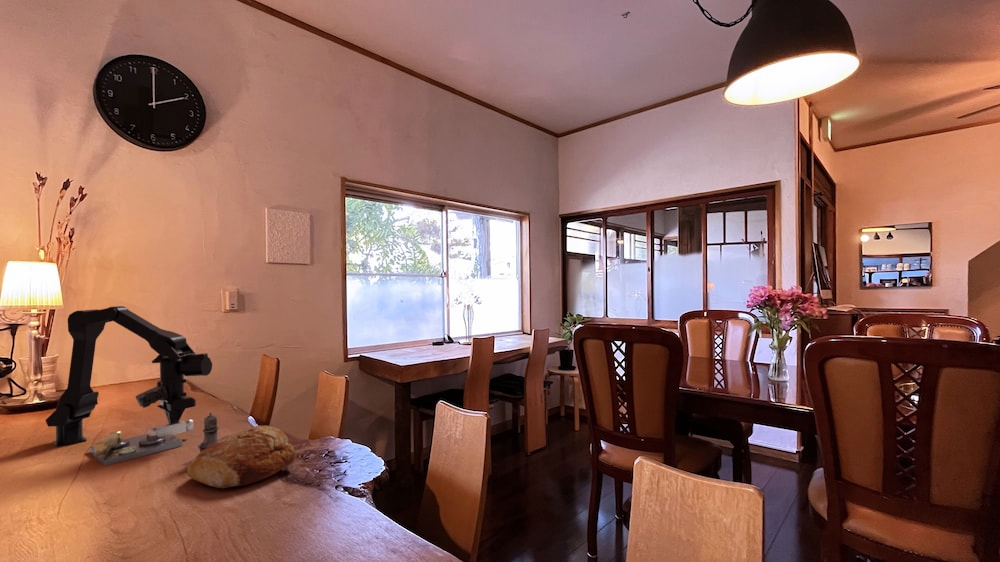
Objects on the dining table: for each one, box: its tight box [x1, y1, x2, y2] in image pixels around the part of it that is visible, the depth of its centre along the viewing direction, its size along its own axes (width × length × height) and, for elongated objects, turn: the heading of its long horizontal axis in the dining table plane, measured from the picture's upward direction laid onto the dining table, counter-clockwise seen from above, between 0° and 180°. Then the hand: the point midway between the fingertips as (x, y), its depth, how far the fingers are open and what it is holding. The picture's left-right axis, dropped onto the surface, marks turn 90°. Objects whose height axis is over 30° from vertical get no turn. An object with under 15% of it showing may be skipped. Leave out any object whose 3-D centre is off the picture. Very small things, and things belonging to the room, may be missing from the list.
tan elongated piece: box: [93, 430, 129, 456], centre depth 119 cm, size 13×6×4 cm, turn 23°
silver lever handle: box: [139, 418, 194, 446], centre depth 128 cm, size 13×6×4 cm, turn 144°
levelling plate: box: [89, 433, 184, 467], centre depth 124 cm, size 16×17×2 cm
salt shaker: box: [197, 412, 220, 453], centre depth 118 cm, size 6×6×12 cm
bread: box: [186, 425, 297, 489], centre depth 108 cm, size 20×18×10 cm
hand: (173, 428), depth 132 cm, fingers closed
